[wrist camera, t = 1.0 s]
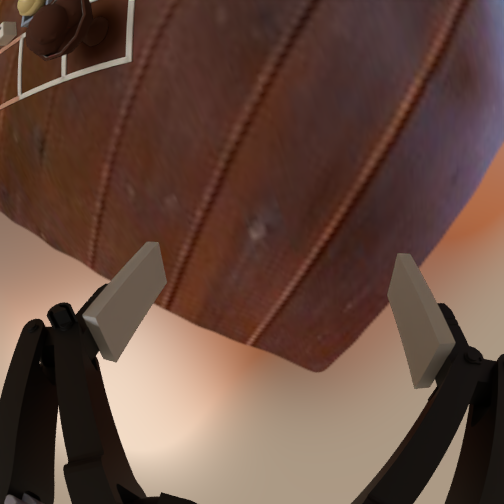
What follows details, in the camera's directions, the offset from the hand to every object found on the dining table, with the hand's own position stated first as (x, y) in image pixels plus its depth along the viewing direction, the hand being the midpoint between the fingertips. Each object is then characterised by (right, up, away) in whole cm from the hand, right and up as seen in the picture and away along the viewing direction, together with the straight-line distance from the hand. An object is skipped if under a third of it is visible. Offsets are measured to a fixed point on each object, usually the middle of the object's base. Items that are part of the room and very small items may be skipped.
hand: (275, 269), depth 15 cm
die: (-52, +47, +14) cm, 71 cm away
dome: (-40, +47, +10) cm, 62 cm away
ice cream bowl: (-26, +36, +15) cm, 47 cm away
